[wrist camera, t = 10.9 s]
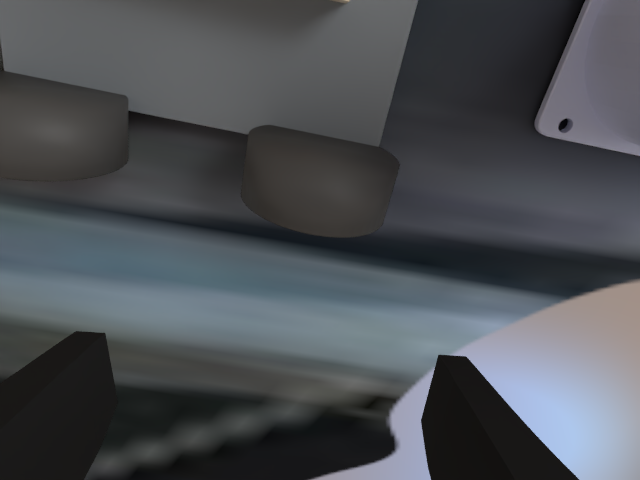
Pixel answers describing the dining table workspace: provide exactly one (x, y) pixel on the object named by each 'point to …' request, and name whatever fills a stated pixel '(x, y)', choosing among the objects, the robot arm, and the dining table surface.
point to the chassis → (213, 94)
